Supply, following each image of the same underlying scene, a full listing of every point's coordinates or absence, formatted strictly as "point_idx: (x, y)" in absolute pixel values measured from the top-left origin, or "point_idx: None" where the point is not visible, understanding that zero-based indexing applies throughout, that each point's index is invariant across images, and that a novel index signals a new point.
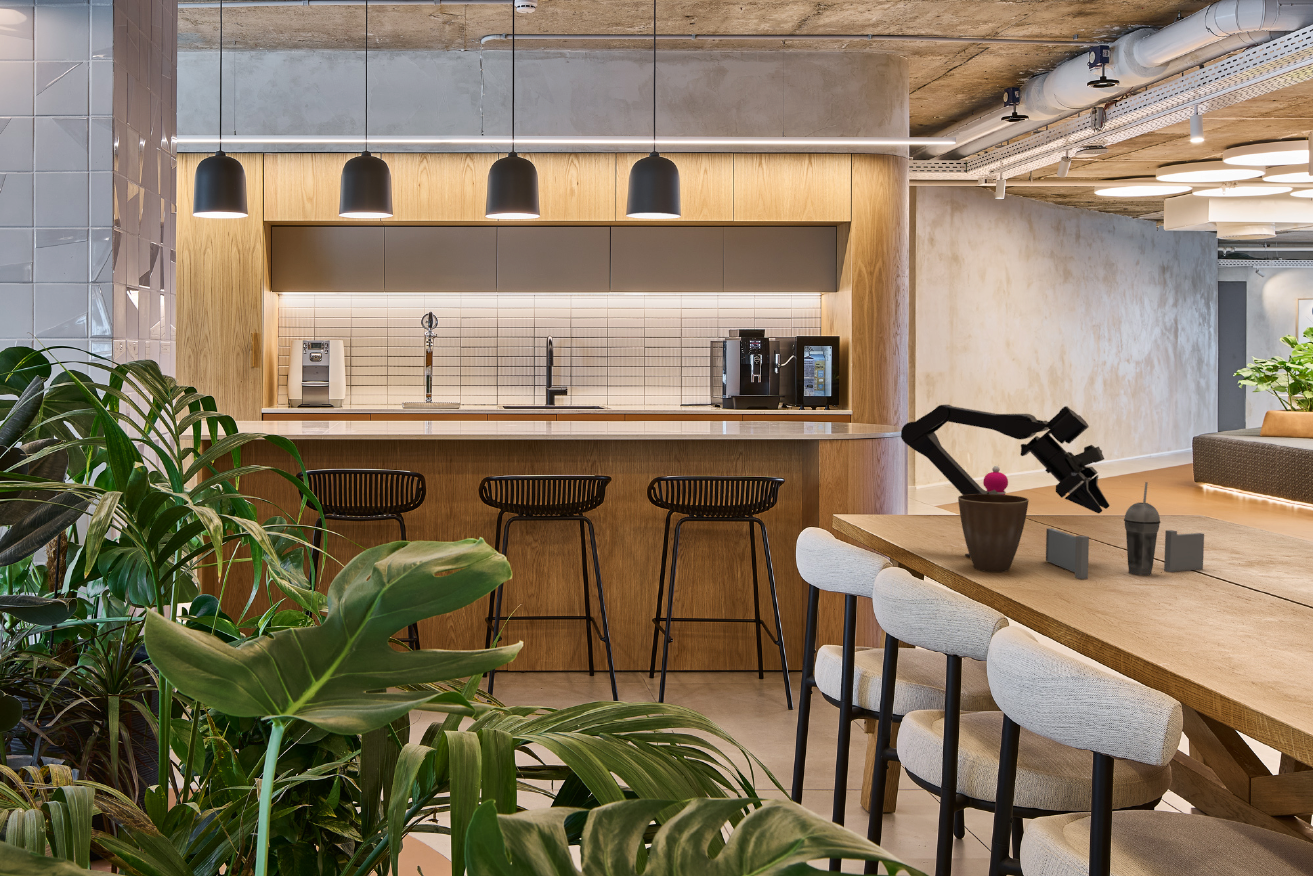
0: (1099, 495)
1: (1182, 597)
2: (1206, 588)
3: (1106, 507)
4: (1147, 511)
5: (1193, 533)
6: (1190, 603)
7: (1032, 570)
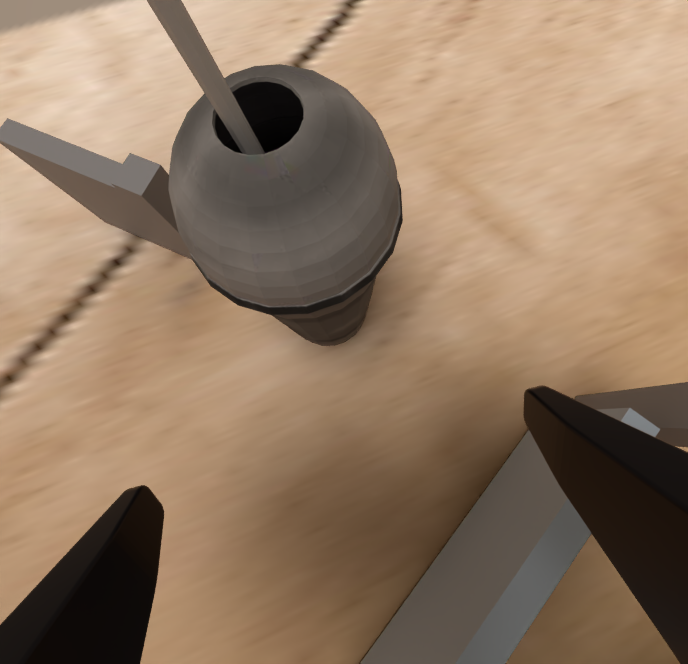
0: (66, 652)
1: (596, 94)
2: (413, 100)
3: (155, 508)
4: (350, 95)
5: (27, 147)
6: (655, 55)
7: (605, 651)
